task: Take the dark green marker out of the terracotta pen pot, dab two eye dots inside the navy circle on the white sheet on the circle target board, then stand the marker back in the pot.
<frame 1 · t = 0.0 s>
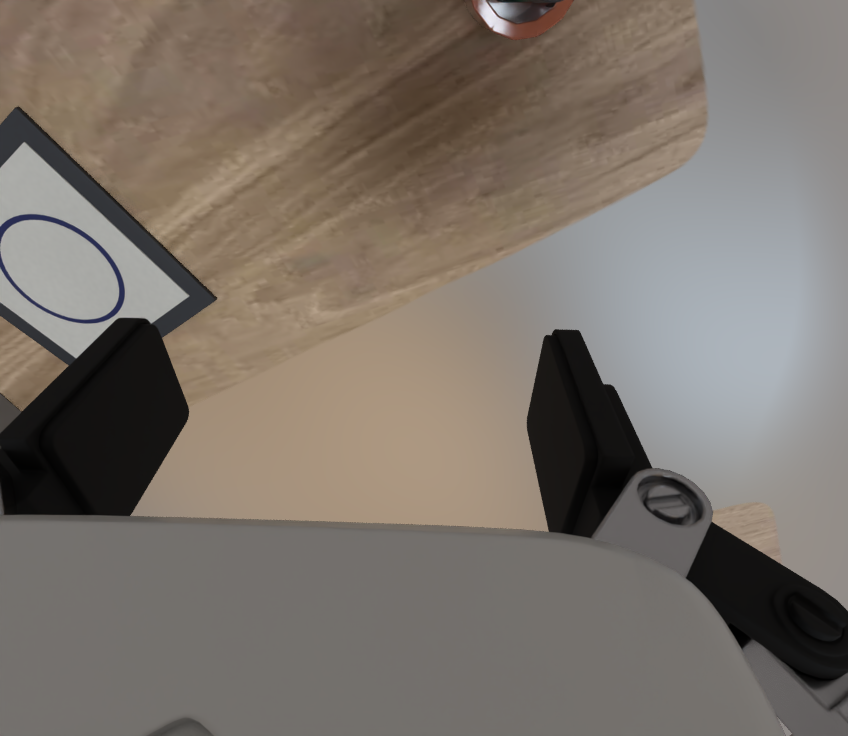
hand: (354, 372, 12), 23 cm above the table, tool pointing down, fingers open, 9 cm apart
perfume bottle: (1, 422, 46), on the table
circle target board: (65, 270, 36), on the table
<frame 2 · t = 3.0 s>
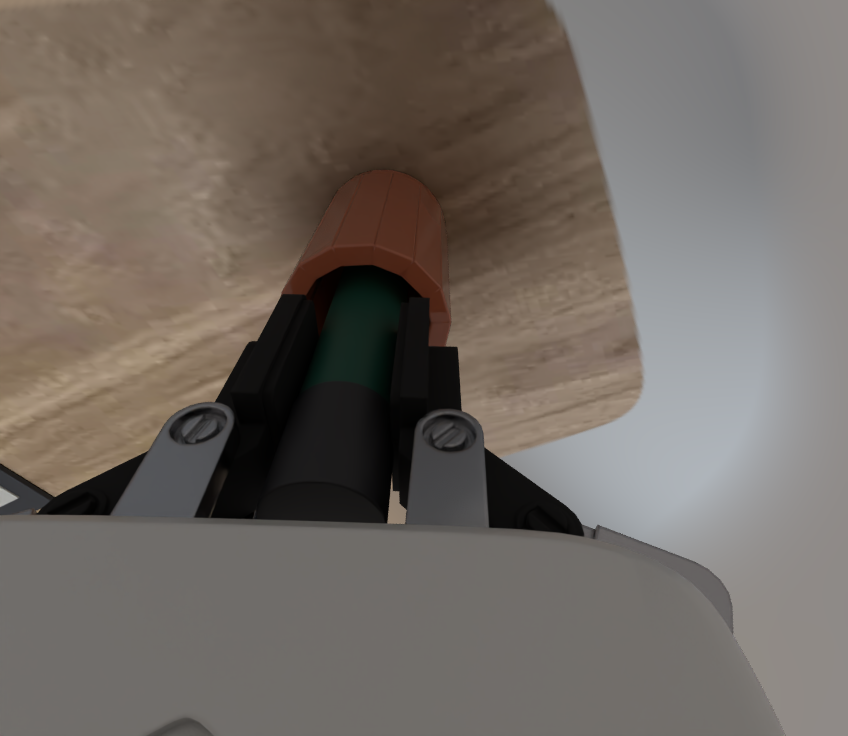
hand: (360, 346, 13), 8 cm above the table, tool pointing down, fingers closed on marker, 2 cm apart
marker: (385, 236, 19), point 1 cm above the table, touching gripper, pen pot
pen pot: (386, 231, 19), on the table
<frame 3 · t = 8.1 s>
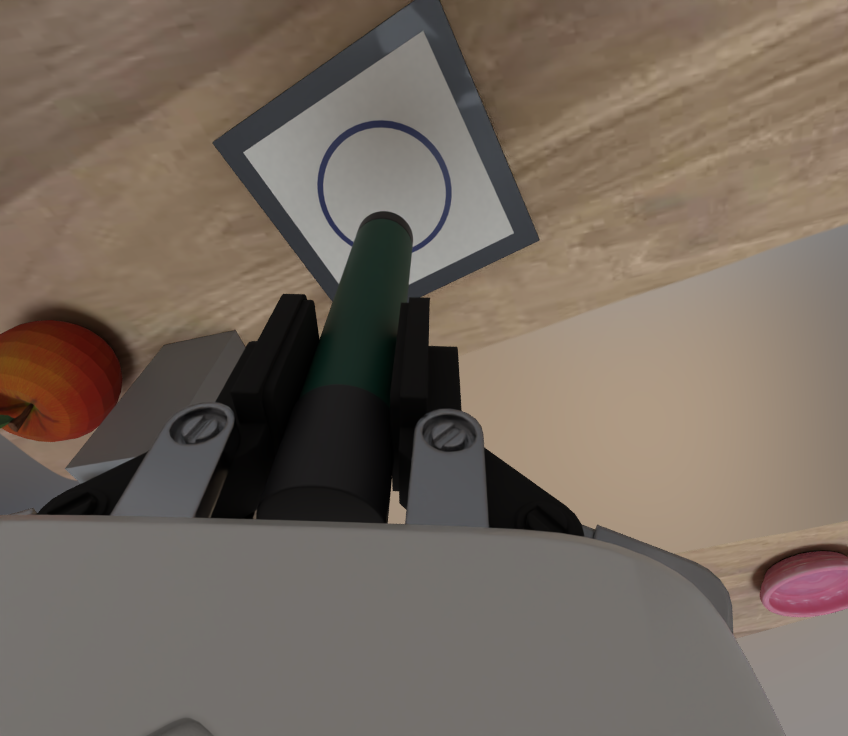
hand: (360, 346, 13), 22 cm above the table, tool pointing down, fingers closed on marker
perfume bottle: (219, 367, 42), on the table
circle target board: (385, 192, 32), on the table
fruit: (85, 349, 41), on the table
saucer: (803, 568, 60), on the table
marker: (385, 238, 19), point 15 cm above the table, touching gripper
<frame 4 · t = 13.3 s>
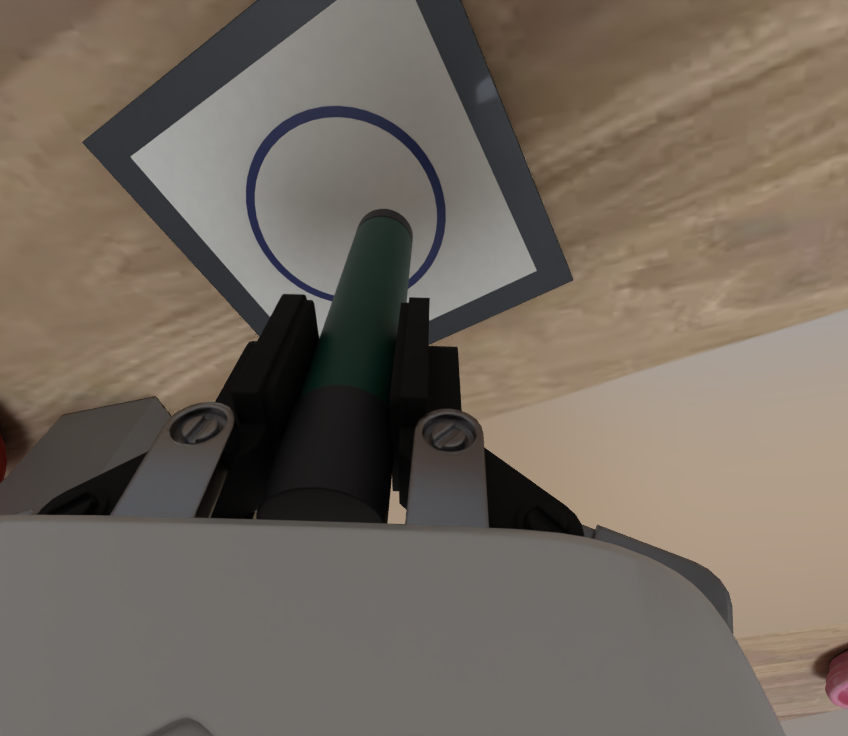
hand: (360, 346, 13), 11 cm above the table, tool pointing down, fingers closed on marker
perfume bottle: (141, 440, 32), on the table
circle target board: (348, 214, 22), on the table
marker: (385, 235, 19), point 4 cm above the table, touching gripper
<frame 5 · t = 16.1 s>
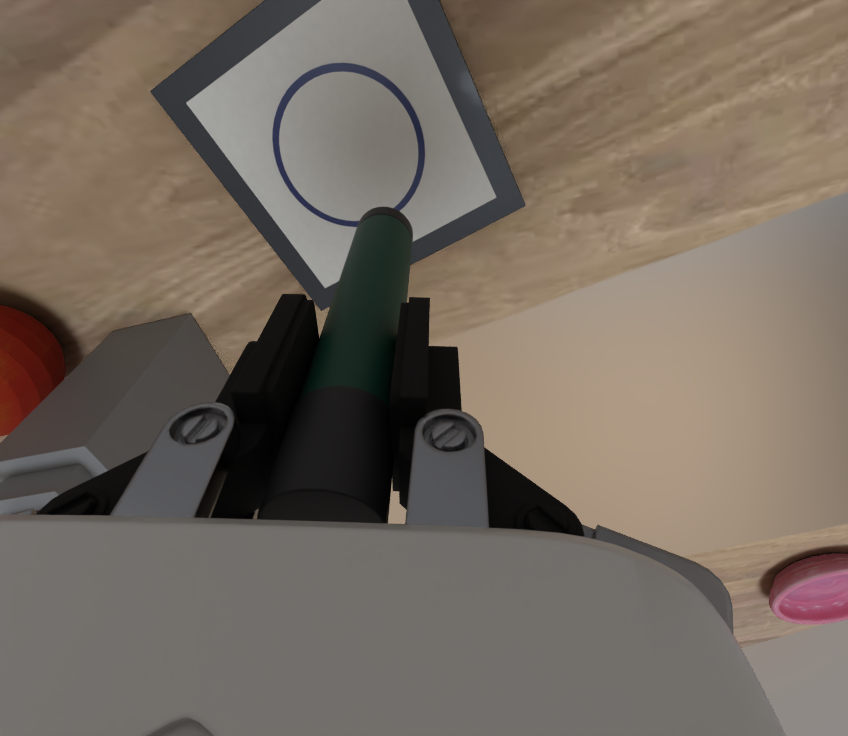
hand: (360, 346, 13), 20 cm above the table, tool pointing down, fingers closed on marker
perfume bottle: (176, 356, 38), on the table
circle target board: (350, 151, 28), on the table
fruit: (26, 336, 37), on the table
saucer: (815, 572, 56), on the table
marker: (385, 233, 19), point 12 cm above the table, touching gripper
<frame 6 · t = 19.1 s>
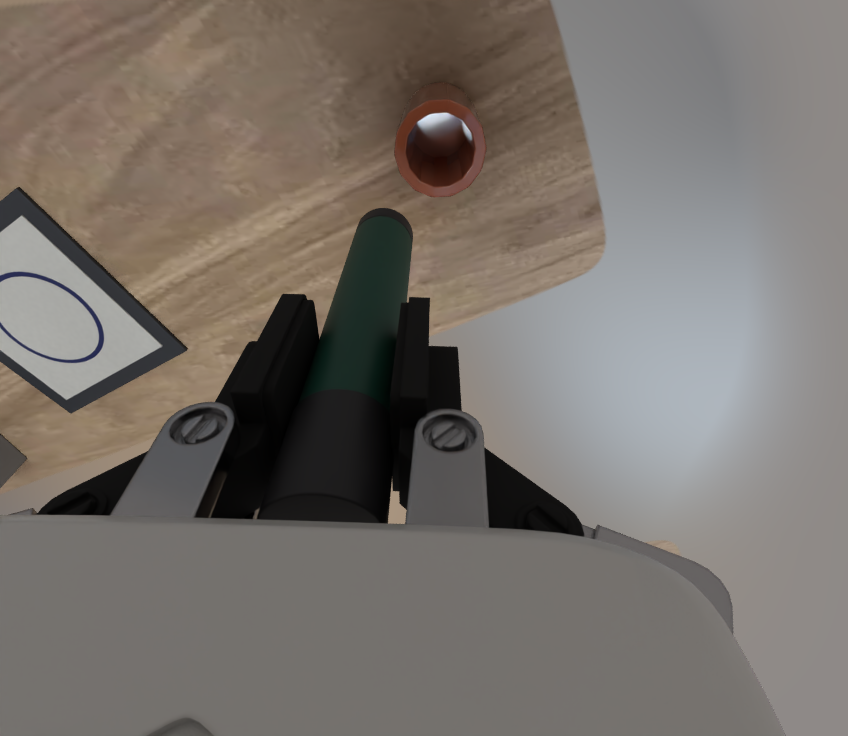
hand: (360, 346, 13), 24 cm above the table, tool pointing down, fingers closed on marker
circle target board: (50, 317, 40), on the table
marker: (384, 235, 18), point 16 cm above the table, touching gripper
pen pot: (439, 125, 31), on the table
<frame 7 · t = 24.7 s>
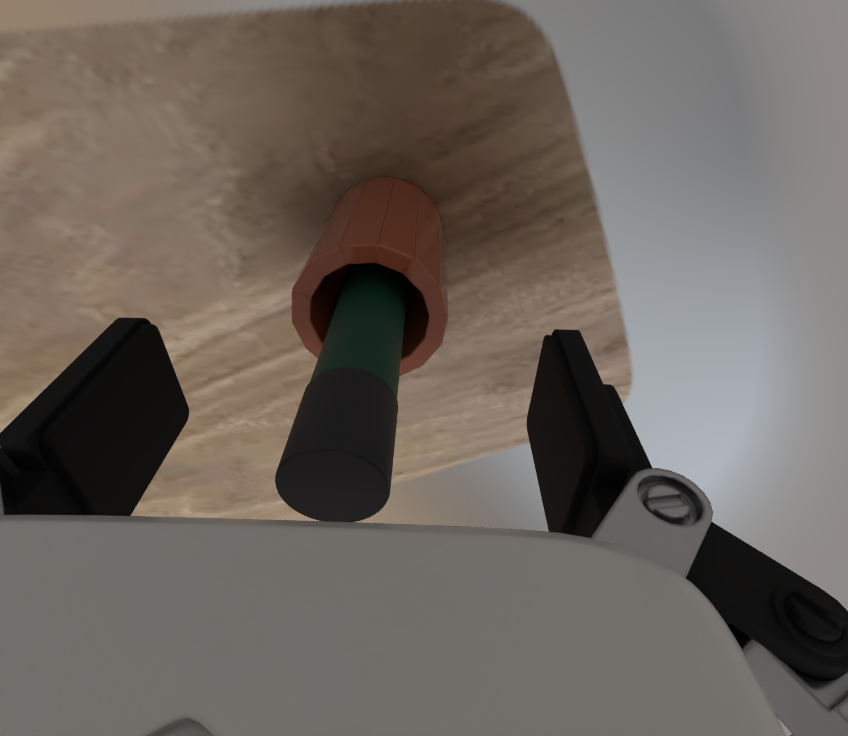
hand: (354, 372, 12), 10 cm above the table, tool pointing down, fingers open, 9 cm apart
marker: (386, 242, 20), resting on pen pot
pen pot: (387, 235, 20), on the table
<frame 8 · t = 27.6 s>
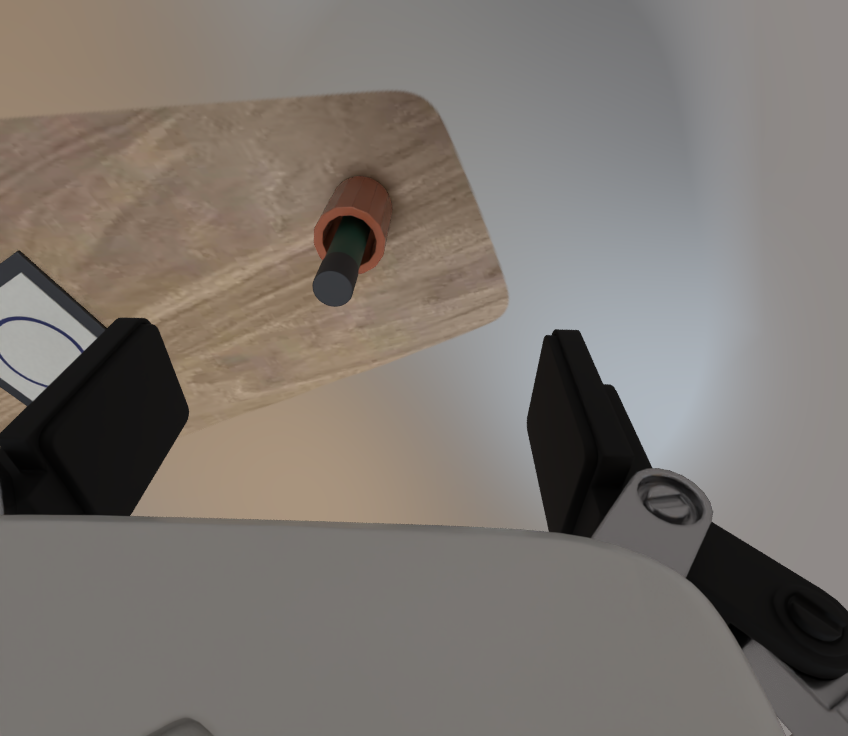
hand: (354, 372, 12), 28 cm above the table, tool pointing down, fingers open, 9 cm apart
circle target board: (45, 352, 47), on the table
marker: (361, 210, 37), resting on pen pot
pen pot: (362, 207, 38), on the table
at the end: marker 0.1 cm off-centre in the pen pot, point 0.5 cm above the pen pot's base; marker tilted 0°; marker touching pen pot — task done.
